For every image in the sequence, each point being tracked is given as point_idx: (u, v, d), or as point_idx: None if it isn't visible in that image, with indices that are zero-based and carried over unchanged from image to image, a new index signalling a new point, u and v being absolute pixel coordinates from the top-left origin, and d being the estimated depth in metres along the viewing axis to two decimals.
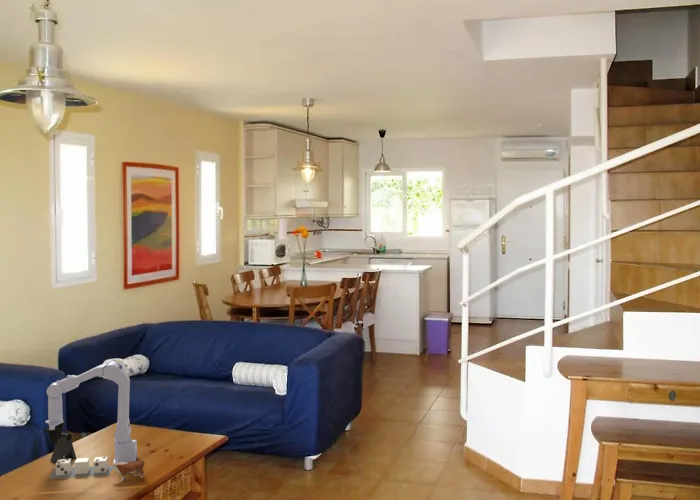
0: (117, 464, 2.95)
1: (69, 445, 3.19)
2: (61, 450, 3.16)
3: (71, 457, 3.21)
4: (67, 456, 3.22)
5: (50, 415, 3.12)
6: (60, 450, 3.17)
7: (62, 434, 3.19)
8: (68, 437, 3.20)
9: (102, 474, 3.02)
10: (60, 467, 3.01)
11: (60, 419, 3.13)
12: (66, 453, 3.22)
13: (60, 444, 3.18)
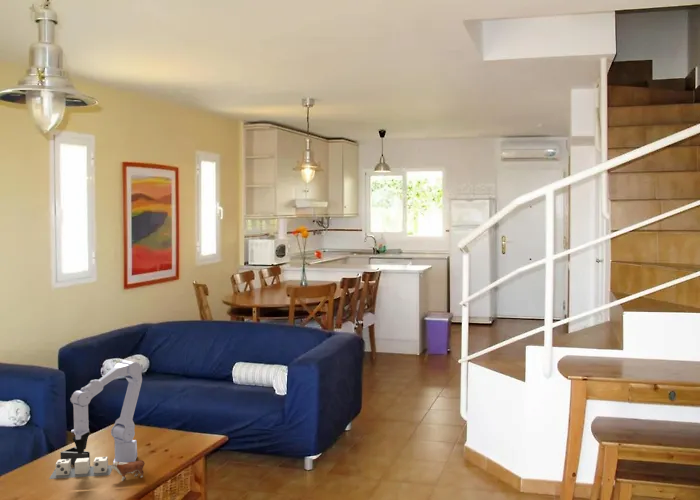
0: (117, 464, 2.95)
1: None
2: (72, 464, 3.13)
3: None
4: None
5: (76, 424, 3.01)
6: (71, 462, 3.13)
7: None
8: None
9: (102, 474, 3.02)
10: (60, 467, 3.01)
11: (86, 428, 3.03)
12: None
13: None
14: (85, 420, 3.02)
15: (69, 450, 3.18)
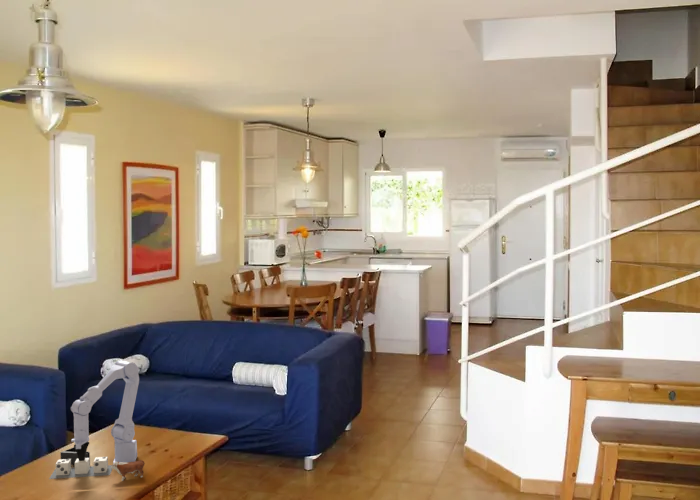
0: (117, 464, 2.95)
1: None
2: (72, 464, 3.13)
3: None
4: None
5: (76, 433, 3.01)
6: (71, 462, 3.13)
7: None
8: None
9: (102, 474, 3.02)
10: (60, 467, 3.01)
11: (86, 437, 3.03)
12: None
13: None
14: (85, 429, 3.02)
15: (69, 450, 3.18)
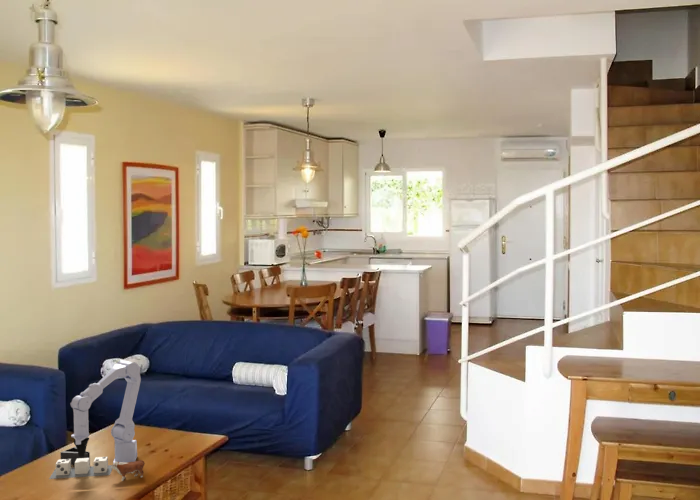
0: (117, 464, 2.95)
1: None
2: (72, 464, 3.13)
3: None
4: None
5: (76, 429, 3.01)
6: (71, 462, 3.13)
7: None
8: None
9: (102, 474, 3.02)
10: (60, 467, 3.01)
11: (86, 433, 3.03)
12: None
13: None
14: (85, 425, 3.02)
15: (69, 450, 3.18)
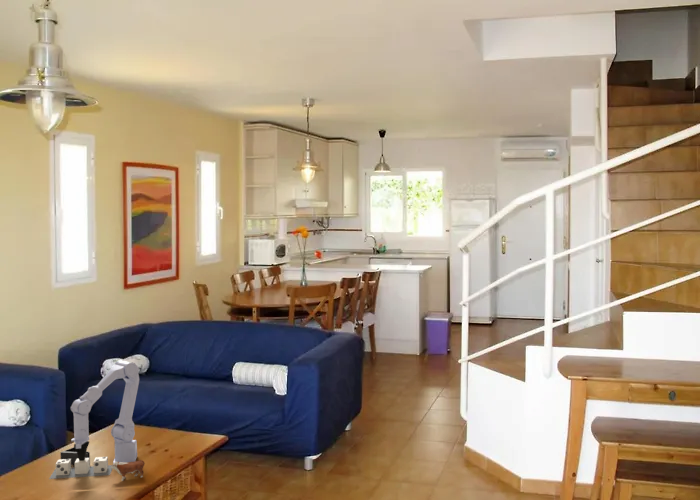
0: (117, 464, 2.95)
1: None
2: (72, 464, 3.13)
3: None
4: None
5: (76, 433, 3.01)
6: (71, 462, 3.13)
7: None
8: None
9: (102, 474, 3.02)
10: (60, 467, 3.01)
11: (86, 437, 3.03)
12: None
13: None
14: (85, 429, 3.02)
15: (69, 450, 3.18)
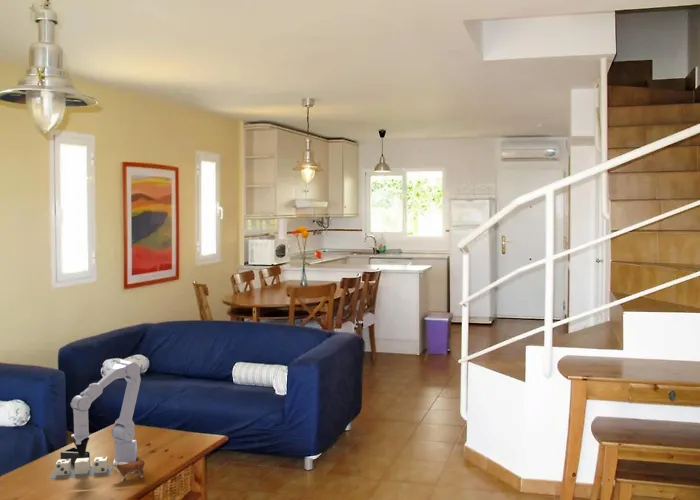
0: (117, 464, 2.95)
1: None
2: (72, 464, 3.13)
3: None
4: None
5: (76, 429, 3.01)
6: (71, 462, 3.13)
7: None
8: None
9: (102, 474, 3.02)
10: (60, 467, 3.01)
11: (86, 433, 3.03)
12: None
13: None
14: (85, 425, 3.02)
15: (69, 450, 3.18)
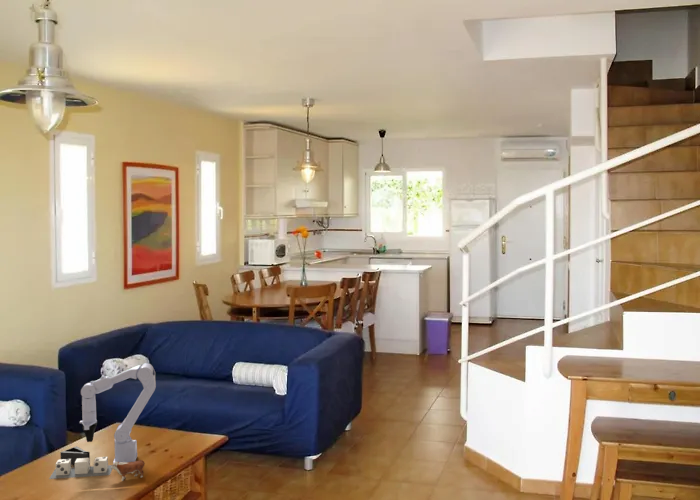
0: (117, 464, 2.95)
1: None
2: (72, 464, 3.13)
3: None
4: None
5: (84, 415, 3.14)
6: (71, 462, 3.13)
7: None
8: None
9: (102, 474, 3.02)
10: (60, 467, 3.01)
11: (94, 419, 3.16)
12: None
13: None
14: (93, 411, 3.15)
15: (69, 450, 3.18)
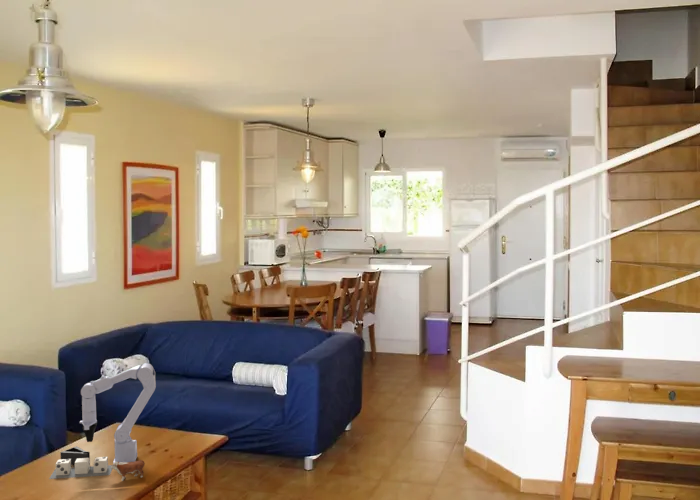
0: (117, 464, 2.95)
1: None
2: (72, 464, 3.13)
3: None
4: None
5: (84, 415, 3.14)
6: (71, 462, 3.13)
7: None
8: None
9: (102, 474, 3.02)
10: (60, 467, 3.01)
11: (94, 419, 3.16)
12: None
13: None
14: (93, 411, 3.15)
15: (69, 450, 3.18)
